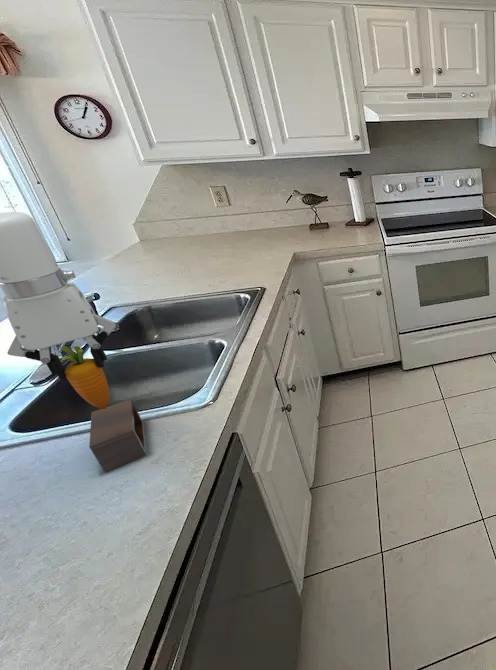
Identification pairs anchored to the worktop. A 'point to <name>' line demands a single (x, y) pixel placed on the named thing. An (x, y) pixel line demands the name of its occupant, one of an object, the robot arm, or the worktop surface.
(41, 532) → the worktop surface
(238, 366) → the worktop surface
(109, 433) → the shelf
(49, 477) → the worktop surface
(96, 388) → the carrot
